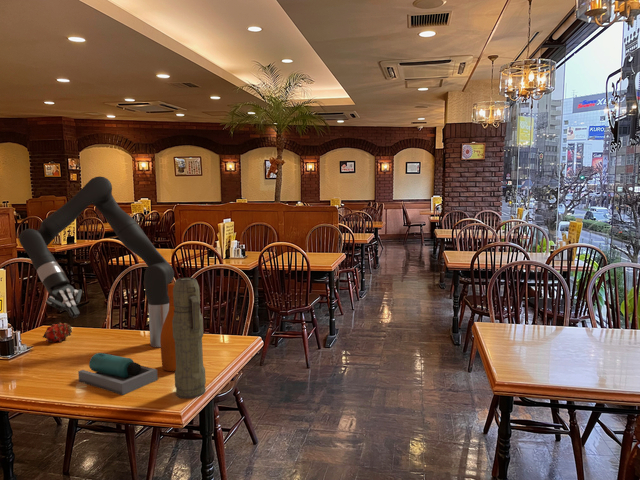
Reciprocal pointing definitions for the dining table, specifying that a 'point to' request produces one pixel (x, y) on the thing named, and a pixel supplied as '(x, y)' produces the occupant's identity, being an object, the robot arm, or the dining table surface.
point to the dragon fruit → (57, 332)
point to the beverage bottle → (114, 365)
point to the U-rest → (119, 380)
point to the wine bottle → (168, 336)
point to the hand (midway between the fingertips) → (76, 316)
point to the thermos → (188, 339)
